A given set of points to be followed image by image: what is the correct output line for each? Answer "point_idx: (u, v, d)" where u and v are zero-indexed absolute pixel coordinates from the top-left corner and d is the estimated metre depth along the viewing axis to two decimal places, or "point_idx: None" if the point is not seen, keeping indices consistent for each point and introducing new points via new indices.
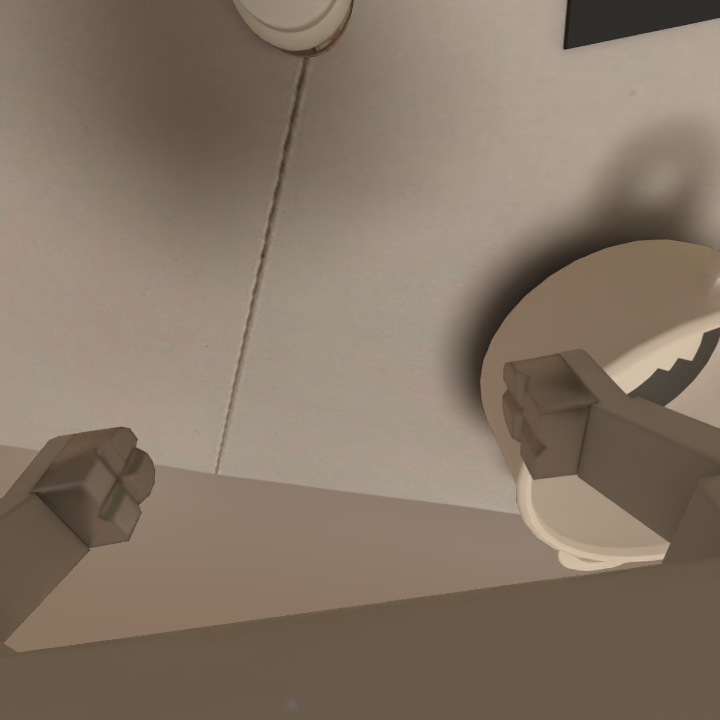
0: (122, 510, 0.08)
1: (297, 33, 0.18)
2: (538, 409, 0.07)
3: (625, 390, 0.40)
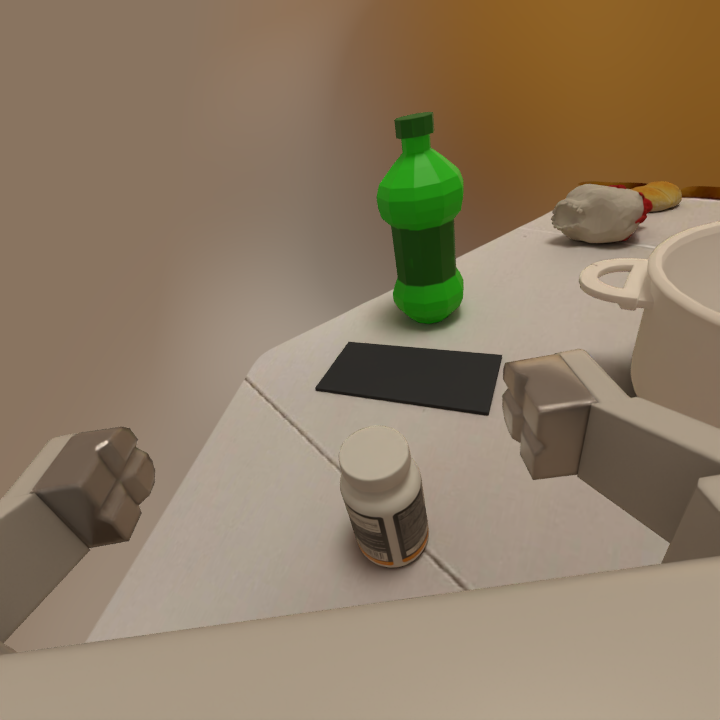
0: (122, 510, 0.08)
1: (409, 481, 0.27)
2: (538, 409, 0.07)
3: None
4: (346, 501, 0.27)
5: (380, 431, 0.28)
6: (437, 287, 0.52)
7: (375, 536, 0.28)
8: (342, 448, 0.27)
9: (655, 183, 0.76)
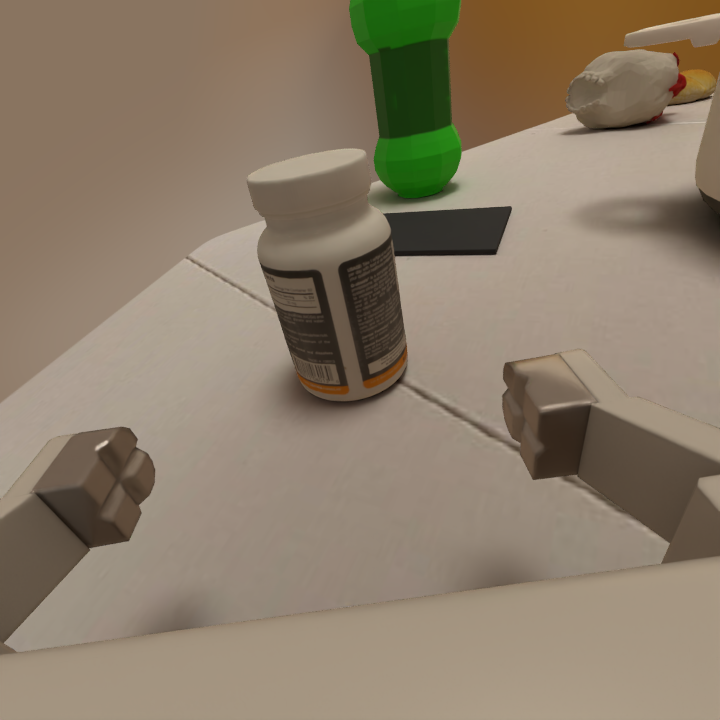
0: (122, 510, 0.08)
1: (368, 218, 0.16)
2: (537, 409, 0.07)
3: None
4: (263, 261, 0.16)
5: (322, 153, 0.17)
6: (428, 137, 0.41)
7: (313, 323, 0.16)
8: (256, 171, 0.16)
9: (684, 72, 0.66)
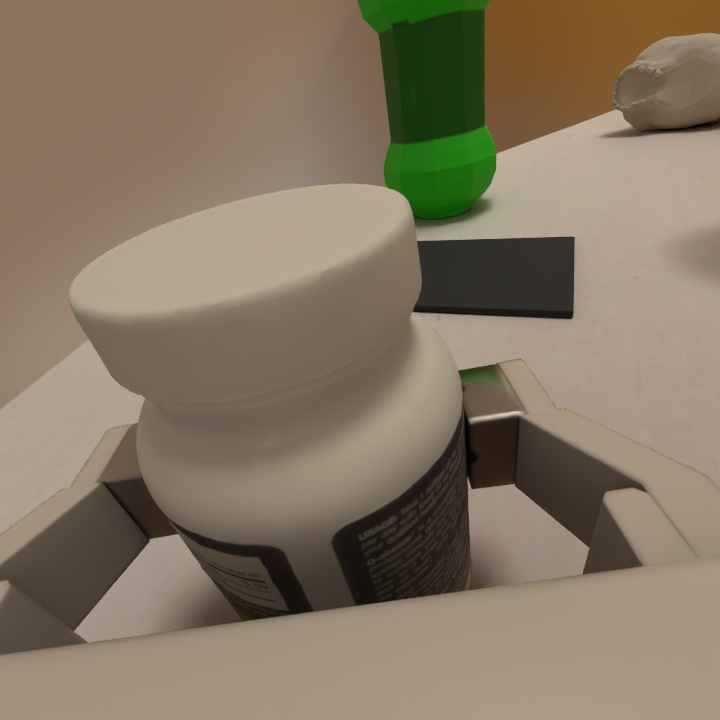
0: None
1: (414, 377, 0.06)
2: (469, 420, 0.07)
3: None
4: (142, 472, 0.06)
5: (297, 194, 0.07)
6: (456, 141, 0.32)
7: None
8: (125, 243, 0.06)
9: None
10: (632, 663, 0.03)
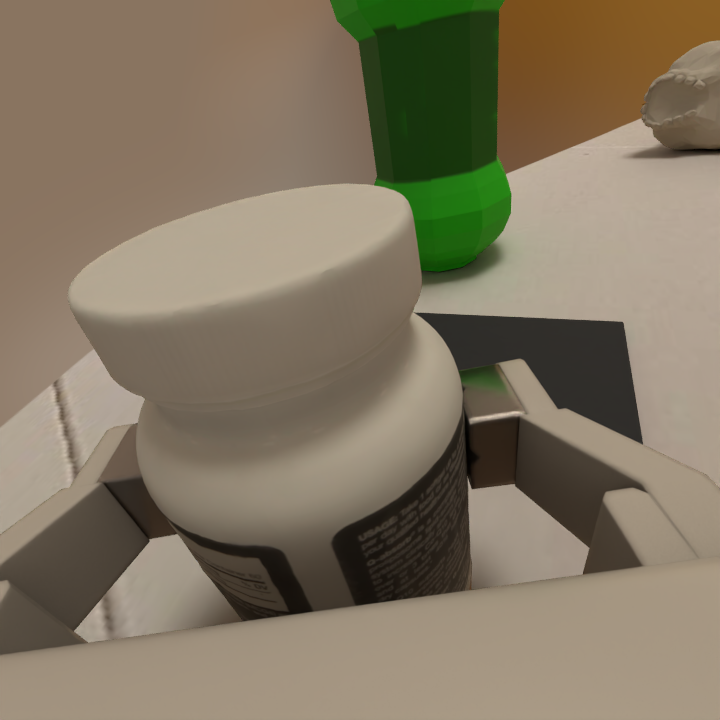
0: None
1: (414, 378, 0.06)
2: (468, 421, 0.07)
3: None
4: None
5: (297, 194, 0.07)
6: (461, 182, 0.24)
7: None
8: (124, 243, 0.06)
9: None
10: (632, 663, 0.03)
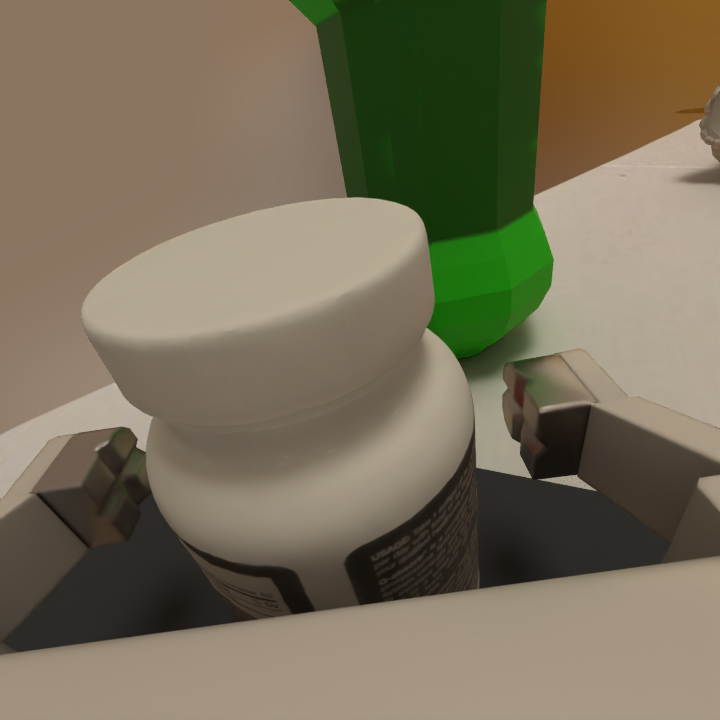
0: (122, 510, 0.08)
1: (427, 395, 0.06)
2: (537, 409, 0.07)
3: None
4: (152, 489, 0.06)
5: (307, 208, 0.07)
6: (479, 247, 0.15)
7: None
8: (135, 258, 0.06)
9: None
10: (632, 663, 0.03)
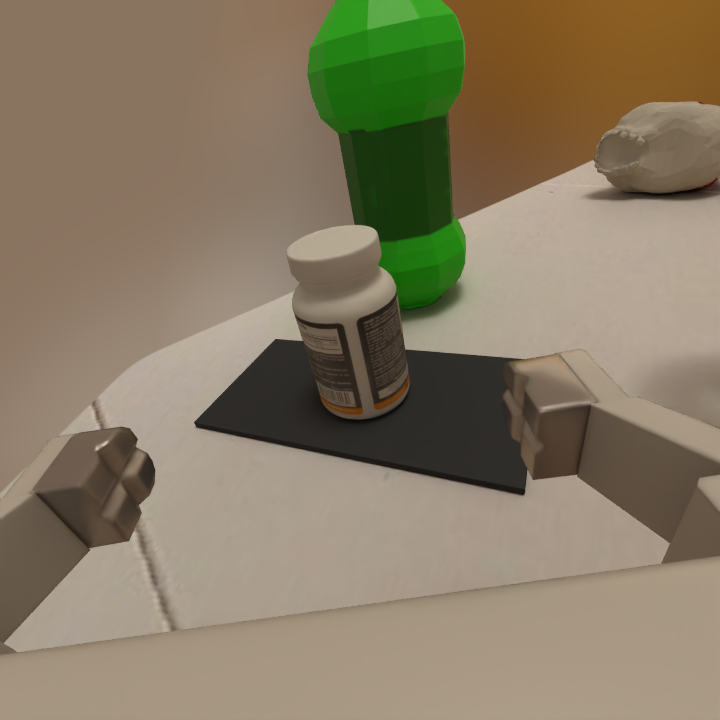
0: (122, 510, 0.08)
1: (379, 282, 0.21)
2: (538, 409, 0.07)
3: None
4: (298, 313, 0.21)
5: (343, 228, 0.22)
6: (421, 243, 0.30)
7: (336, 361, 0.21)
8: (292, 244, 0.21)
9: None
10: (632, 663, 0.03)
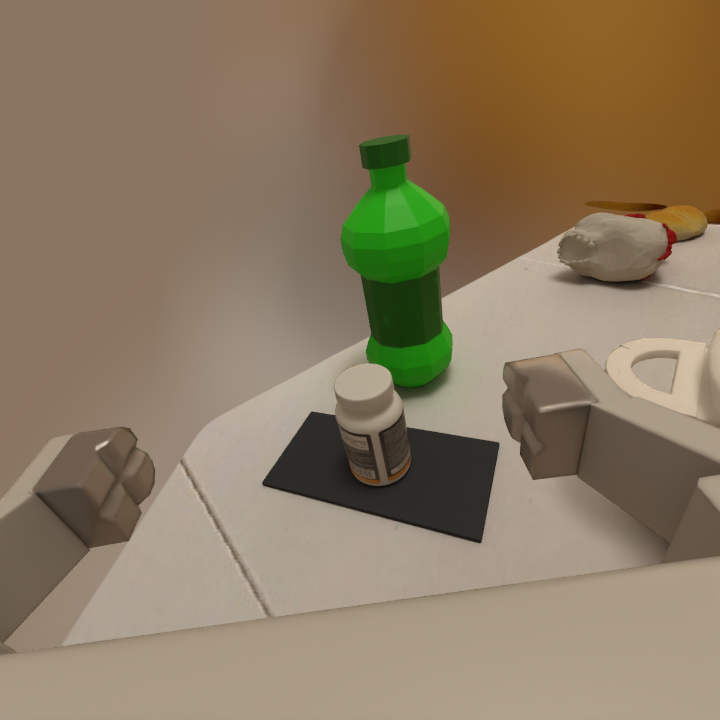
0: (122, 510, 0.08)
1: (392, 406, 0.32)
2: (537, 409, 0.07)
3: None
4: (340, 424, 0.33)
5: (369, 367, 0.34)
6: (419, 349, 0.42)
7: (364, 453, 0.33)
8: (337, 380, 0.33)
9: (676, 208, 0.66)
10: (632, 663, 0.03)
